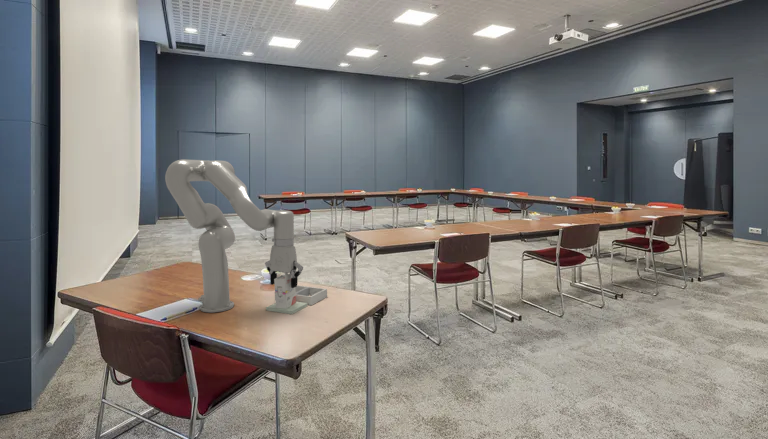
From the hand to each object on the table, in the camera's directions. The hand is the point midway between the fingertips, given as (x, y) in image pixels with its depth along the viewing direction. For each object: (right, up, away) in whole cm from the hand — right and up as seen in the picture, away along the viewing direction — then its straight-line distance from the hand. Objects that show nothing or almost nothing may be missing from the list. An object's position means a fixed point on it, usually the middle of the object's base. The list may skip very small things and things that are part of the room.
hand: (283, 285), depth 169 cm
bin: (+4, -8, +14) cm, 16 cm away
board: (+1, -9, +1) cm, 9 cm away
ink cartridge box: (+1, -8, +1) cm, 8 cm away
